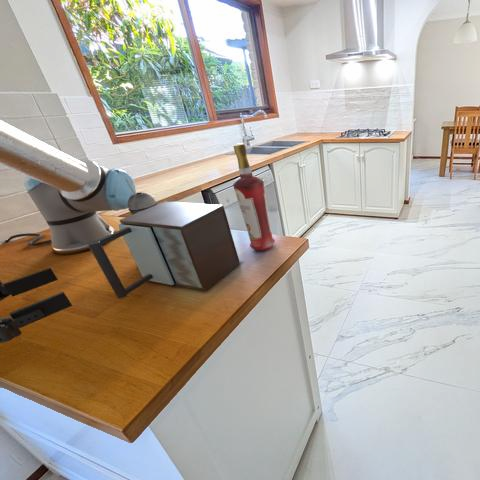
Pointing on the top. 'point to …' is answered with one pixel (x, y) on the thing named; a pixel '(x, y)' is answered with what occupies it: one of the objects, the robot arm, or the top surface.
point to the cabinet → (191, 241)
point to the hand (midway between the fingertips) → (60, 285)
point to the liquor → (252, 202)
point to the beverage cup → (139, 201)
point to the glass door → (143, 254)
